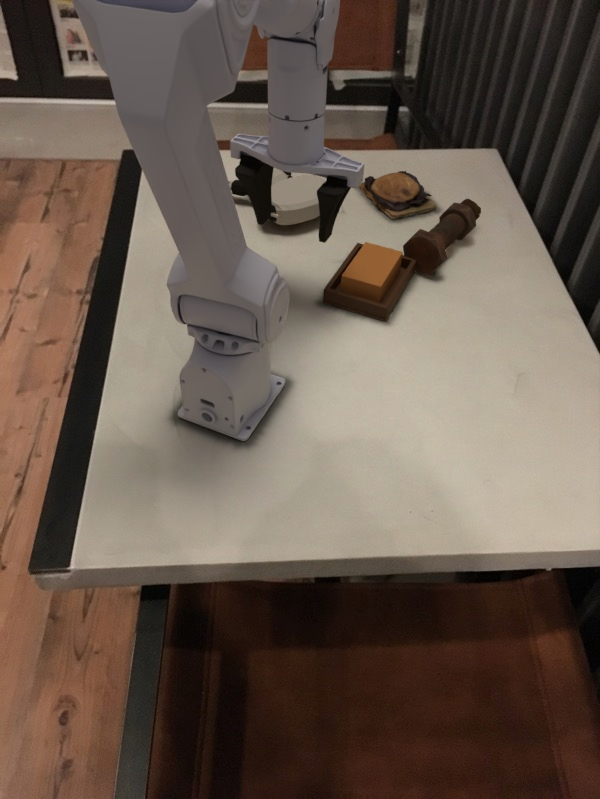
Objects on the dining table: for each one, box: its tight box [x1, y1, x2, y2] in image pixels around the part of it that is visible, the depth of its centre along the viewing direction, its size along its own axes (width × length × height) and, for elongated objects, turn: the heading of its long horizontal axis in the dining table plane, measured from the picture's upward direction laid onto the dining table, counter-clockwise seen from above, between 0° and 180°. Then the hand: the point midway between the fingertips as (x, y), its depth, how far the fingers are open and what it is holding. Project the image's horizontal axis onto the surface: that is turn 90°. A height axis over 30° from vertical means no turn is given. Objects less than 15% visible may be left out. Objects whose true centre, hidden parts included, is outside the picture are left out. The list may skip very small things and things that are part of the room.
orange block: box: [340, 241, 404, 303], centre depth 84 cm, size 8×5×3 cm, turn 155°
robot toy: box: [228, 168, 326, 226], centre depth 97 cm, size 12×4×15 cm
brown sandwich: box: [359, 170, 437, 220], centre depth 100 cm, size 11×8×4 cm
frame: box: [322, 242, 417, 323], centre depth 85 cm, size 11×8×2 cm
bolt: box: [402, 198, 482, 275], centre depth 90 cm, size 6×5×15 cm
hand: (294, 229), depth 77 cm, fingers open, 7 cm apart
